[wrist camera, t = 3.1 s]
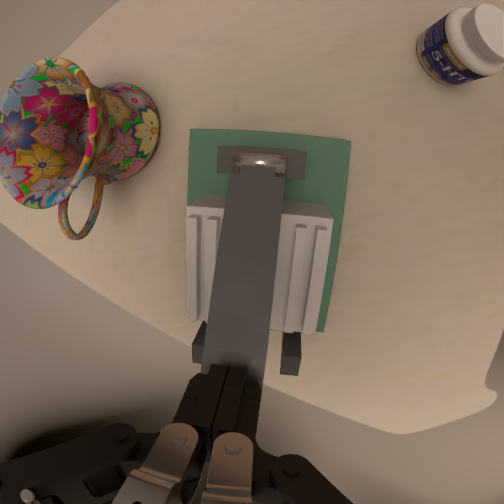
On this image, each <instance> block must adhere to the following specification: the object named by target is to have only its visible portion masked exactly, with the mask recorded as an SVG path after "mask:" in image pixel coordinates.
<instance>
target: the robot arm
mask: <svg viewBox="0 0 504 504" xmlns="http://www.w3.org/2000/svg"><path fill="white" fill-rule="evenodd" d="M261 393H262V390H261V387H260V385H259V383H258V381H251V380H247V368H242V367H235V366H230V367H229V366H227V365H220V364H213V363H212V364H211V366H210V369H209V372H208V374H202V373H198V374H196V375H195V376H194V377H193V378H192V379H191V380H190V381H189V384H188V386H187V388H186V391H185V393H184V396H183V398H182V400H181V403H180V405H179V408H178V410H177V412H176V415H175V417H174V420H173V422H172V424H170V425H168V426H166V427H165V428H163V430H162V431H161V432H158V433H137V431H136V430H135V429H134V428H133V427H132V426H130V425H128V424H125V423H115V424H112V425H109V426H107V427H104V428H102V429H100V430H97V431H94V432H92V433H90V434H87V435H84V436H82V437H79V438H76V439H74V440H71V441H69V442H66V443H63V444H60V445H57V446H55V447H52V448H49V449H46V450H43V451H40V452H37V453H34V454H31V455H28V456H25V457H21V458H18V459H15V460H12V461H8V462H5V463H1V464H0V504H102V503H104V502H106V501H109V500H111V499H114V498H115V499H114V501H113V503H112V504H191V502H192V500H193V497H194V494H195V492H196V489H197V487H198V484H199V482H200V479H201V476H202V470H203V467H204V463H205V461H207V462H210V467H209V474H208V480H207V485H206V489H204V492H203V497H202V503H201V504H251V500H254V501H256V502H259V503H261V504H353V503H352V502H351V501H350V500H348V499H347V498H346V497H345V496H344V495H343V494H342V493H341V492H340V491H339V490H338V489H337V488H336V487H335V486H333V485H332V484H331V483H330V482H329V481H328V480H327V479H326V478H325V477H324V476H323V475H322V474H321V473H320V472H319V471H318V470H317V469H316V468H315V467H314V466H313V465H312V464H311V463H310V462H309V461H308V460H307V459H305V458H304V457H302V456H299V455H294V454H287V455H283V456H280V457H276V456H273V455H271V454H268V453H266V452H264V451H263V450H261V448H260V447H259V446H258V445H257V443H256V439H255V437H256V430H257V424H258V417H259V409H260V401H261Z"/></svg>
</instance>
